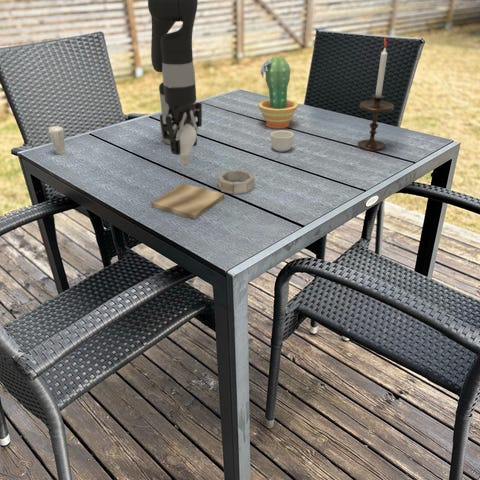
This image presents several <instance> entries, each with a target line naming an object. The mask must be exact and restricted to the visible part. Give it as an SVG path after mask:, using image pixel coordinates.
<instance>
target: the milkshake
mask: <svg viewBox="0 0 480 480" xmlns="http://www.w3.org/2000/svg"><path fill="white" fill-rule="evenodd" d="M63 125H64V121H62V122H61V126H59V125H53V126H50V127H48V132H49V136H50V138H51V141H52V145H53V148H54V152H55V155H64V154H66V153H67V150H66V149H67V148H66V144H65V143H66V142H65V135H64V128H63Z"/></svg>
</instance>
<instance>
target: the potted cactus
mask: <svg viewBox="0 0 480 480" xmlns="http://www.w3.org/2000/svg"><path fill="white" fill-rule="evenodd" d="M264 73H265V75H264ZM260 74H261V77H262V78H264V76H265V82H266V85H267V88H268V95H269V99H266V100H262V101H260V102H259V103H257V105H258V106H257V107H258V109H259V110H260V112H261V115H262V118H264V120H265V121H266V123H265V125H266V127H268V128H270V129H277V130H278V129H285V128H288V127H289V126H290V121H291V120H292V119H293V118H294V115H295V113H296V111H297V110H298V107H299V103H298V102H296V101H294V100H291V99H288V86H289V84H290V83H289V82H290V80H291V79H290V77H291V66H290V64H289V63H288V61H287V60H286V57H284V56H283V57H282V56H281V55H280V56H274V57H273V56H272V58H270V59H268V60H266V61H264V62H263V65H262V67H261V69H260Z"/></svg>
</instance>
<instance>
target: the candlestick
mask: <svg viewBox="0 0 480 480" xmlns="http://www.w3.org/2000/svg"><path fill="white" fill-rule="evenodd" d="M383 42H384V44H383V47H384V48H383V50H382V51H381V53H380V59H379V68H378V74H377V81H376V88H375V94H374V95H371V97H372V98H374V99H371V100H362V102H359V108H360V109H361V110H363V111H364V112H370V113H373V115H372V116H373V117H372V122H371V123H369V127H370V130H369V131H368V133H369V134H370V137H369V139H362V140H359V141H358V142H357V148H358V149H360V150H363V151H366V152H381V151H383V150H384V149H385V148H386V144H385V143H384V142H383V141H380V140H376V139H375V136H376V134H377V133H378V132H377V129H378V127H379V123H377V122H378V115H379V114H381V113H383V114H384V113H389V112H392V111H394V108H395V104H394V103H392V102H389V101H387V100H386V101H385V100H382V99H384V98H385V96H384V95H383V94H382V93H383V88H384V87H383V86H384V78H385V73H386V68H387V67H386V65H387V60H388V52H387V45H388V44H387V39H386V37H384V38H383Z"/></svg>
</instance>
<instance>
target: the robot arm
mask: <svg viewBox="0 0 480 480" xmlns="http://www.w3.org/2000/svg"><path fill="white" fill-rule="evenodd" d="M198 4H199V3H198V0H147V7H148V12H149V14H150V17H151V41H150V43H151V45H150V50H151V51H150V53H151V54H150V56H151V57H150V58H151V60H150V61H151V65H152V68H153V69H154V71H155V72H156V73H162V82H161V83H160V84H159V85H158V92H159V101H160V110H161V114H159V124H160V134H161V141H162V142H164V143H165V144H166V145H169V146H170V152H171V153H172V154H173V155H175V156H180V153H181V152H180V140H179V136H180V132H181V131H182V130H183V126H184V125H185V124H191V125H192V126H193V127H194V129H195V131H196V135H197V133H198V132H197V131H198V130H199V128H200V127H202V124H203V123H202V122H203V121H202V119H203V117H202V112H203V109H202V107H203V105H202V103H201V102H197V88H196V74H195V73H196V72H195V66H194V58H193V57H194V56H193V30H194V25H195V20H196V16H197V11H198V6H199V5H198ZM176 22H182V25H181V27H180V28H179V29H178V30H176V31H173V32H169V31H170V30H171V29H172V27H173V26H174V25H175V23H176ZM196 118H197V119H196ZM175 125H177V126H178V127H174V126H175ZM174 130H176V133H175V135H174ZM197 136H198V135H197ZM197 145H198V138H197V137H196V141H195V143H194V145H193V146H192V147H195V146H197Z"/></svg>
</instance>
